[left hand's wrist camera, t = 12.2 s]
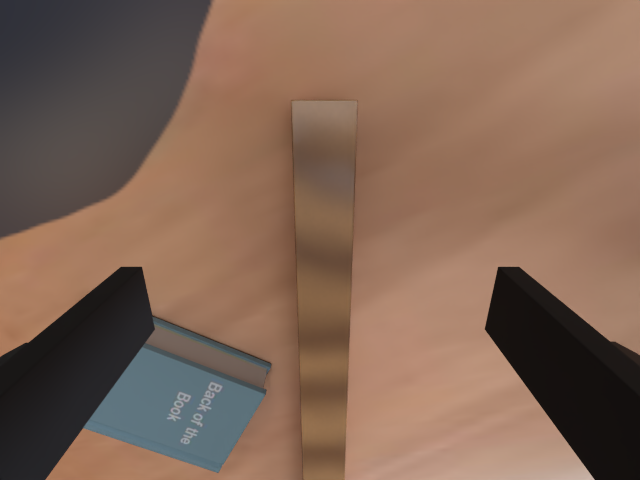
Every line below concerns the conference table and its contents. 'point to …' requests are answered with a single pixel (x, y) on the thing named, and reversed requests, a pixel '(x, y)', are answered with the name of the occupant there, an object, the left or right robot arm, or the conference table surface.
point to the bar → (324, 275)
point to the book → (183, 397)
